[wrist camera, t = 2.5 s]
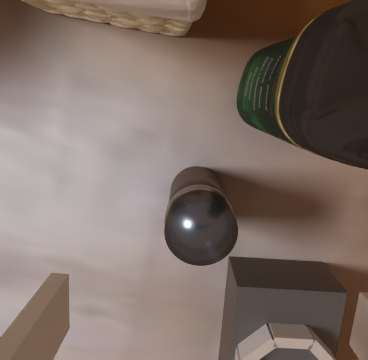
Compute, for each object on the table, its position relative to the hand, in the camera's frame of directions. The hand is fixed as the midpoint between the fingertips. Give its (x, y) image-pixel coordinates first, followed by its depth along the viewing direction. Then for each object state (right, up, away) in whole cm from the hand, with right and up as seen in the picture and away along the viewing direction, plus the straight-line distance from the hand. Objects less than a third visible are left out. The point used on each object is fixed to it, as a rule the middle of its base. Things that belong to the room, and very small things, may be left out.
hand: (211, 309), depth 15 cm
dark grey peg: (0, +5, +19) cm, 20 cm away
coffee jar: (+9, +14, +17) cm, 24 cm away
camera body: (+8, -10, +23) cm, 26 cm away
